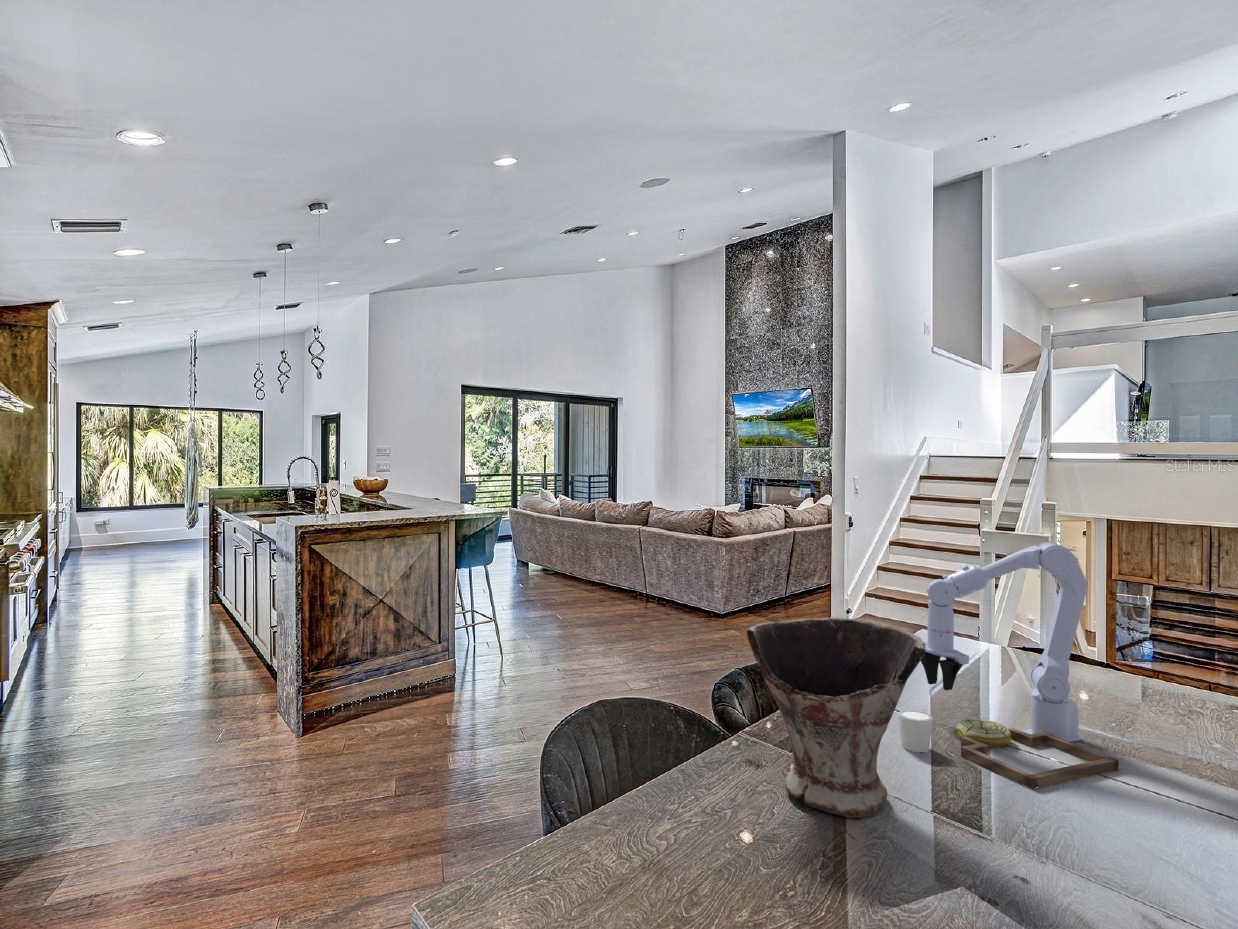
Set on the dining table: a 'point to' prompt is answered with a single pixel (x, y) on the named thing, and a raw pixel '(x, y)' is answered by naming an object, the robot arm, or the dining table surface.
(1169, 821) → the dining table surface
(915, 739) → the white cylinder
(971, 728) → the decorated donut
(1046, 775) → the frame
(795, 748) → the vessel
